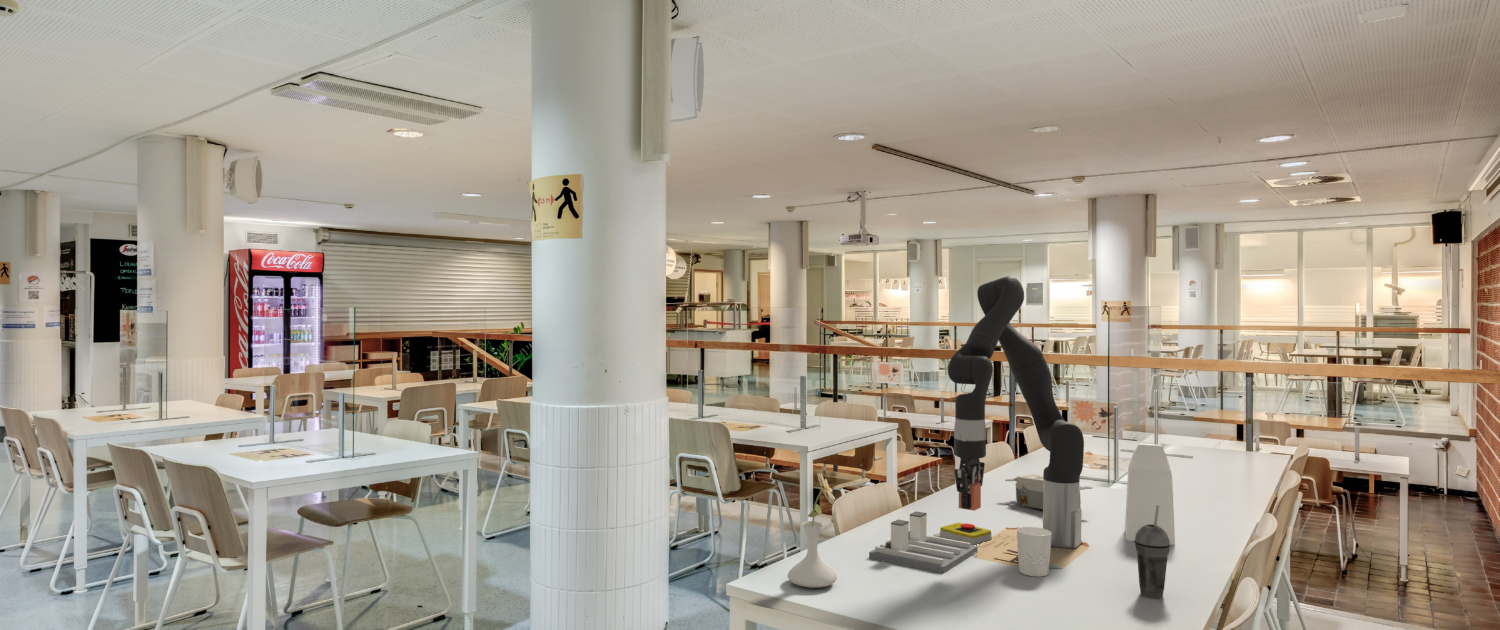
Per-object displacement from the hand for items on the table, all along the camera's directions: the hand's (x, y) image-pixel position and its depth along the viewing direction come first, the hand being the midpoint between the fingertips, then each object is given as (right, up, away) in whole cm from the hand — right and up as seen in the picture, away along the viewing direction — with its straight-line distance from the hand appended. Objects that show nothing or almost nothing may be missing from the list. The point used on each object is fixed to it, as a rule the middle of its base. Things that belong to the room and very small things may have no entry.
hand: (969, 506), depth 203 cm
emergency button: (+6, -16, +26) cm, 31 cm away
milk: (+58, -16, +29) cm, 67 cm away
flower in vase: (-39, -15, -12) cm, 44 cm away
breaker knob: (-16, -13, +8) cm, 22 cm away
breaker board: (-9, -15, +10) cm, 20 cm away
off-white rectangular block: (-9, -13, +17) cm, 23 cm away
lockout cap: (0, 0, 0) cm, 0 cm away
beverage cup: (+36, -16, -19) cm, 43 cm away
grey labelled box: (+42, -15, +63) cm, 77 cm away
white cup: (+15, -15, -3) cm, 21 cm away
